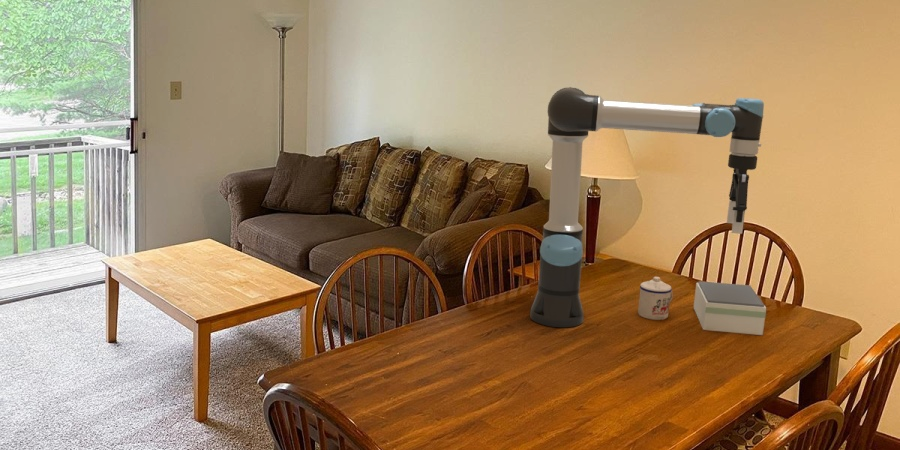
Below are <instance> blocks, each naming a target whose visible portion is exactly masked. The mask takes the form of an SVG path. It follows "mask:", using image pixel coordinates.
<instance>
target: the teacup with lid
mask: <svg viewBox="0 0 900 450" xmlns="http://www.w3.org/2000/svg"><path fill="white" fill-rule="evenodd" d="M639 288H640V290H639V301H638V309H637V311H638V312H637V314H638V315H639V316H640V317H642V318H644V319H647V320H652V321H659V320H660V321H661V320H665V319H667V318H668V317H669V313H670V304H671V302H672V300H673V297H674V293H673V291H672V290H673V289H672V286H671V285H670V284H668V283H665V282H664V281H662V280H661V277H659V276H654V277H652V279H651V280H647V281H643V282H641V283H640V285H639Z"/></svg>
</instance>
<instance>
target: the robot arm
mask: <svg viewBox="0 0 900 450" xmlns="http://www.w3.org/2000/svg"><path fill="white" fill-rule="evenodd" d="M764 104H765V103H764V101H763V100H761V99H757V98H748V97H747V98H745V97H739V98H736V100H735V102H734V104H718V103H705V102H702V103H700V102H699V103H692V104H691V105H690V104H673V103H660V102H647V101H646V102H643V101H642V102H641V101H627V100H611V99H610V100H609V99H603V97H602V96H601V95H595V94H594V95H593V94H587V93H585V92H584V91H583V90H581V89H579V88H577V87H571V86H569V87H563V88H560V89H558V90H557V91H556V92H554V94H553V95H552V96H551V98H550V100H549V102H548V105H547V116H548V120H547V122H548V123H547V125H548V126H547V136H548V137H549V138H550V139H551V140H552V145H551V146H552V147H551V148H552V149H551V150H552V151H551V169H550V170H551V171H550V192H549V211H548V220H547V222H546V223H545V224H543V229H542V230H543V231H542V241H541V245H540V247H539V253H540V255H539V272H538V284H537V285H538V287H537V292H536V294H535V298H534V300H533V303H532V304H531V307H530V311H529V314H530V315H529V317H530V319H531V320H532V321H533V322H535V323H537V324H539V325H543V326H547V327H553V328H573V327H577V326H579V325H581V324H583V322H584V316H585V315H584V310H583V305H582V301H581V298H580V286H581V285H580V284H581V275H582V262H583V260H582V259H583V255H584V250H583V249H584V248H583V232H584V231H583V230H584V227H583V226H582V225H581V223H579V212H580V209H579V207H580V194H581V193H580V191H581V179H582V178H581V175H582V174H581V173H582V158H583V142H584V141H585V140H586V139H587V137H589V132H598V131H600V129H608V130H609V129H612V130H627V131H642V132H643V131H644V132H656V133H657V132H659V133H673V134H674V133H675V134H687V135H701V136H703V135H704V136H712V137H714V138H723V137H727V136H729V135H730V134H731V138H730V144H729V152H730V154H729V155H728V161H727V162H728V163H727V166H728V167H729V168H730V169H733V173H732V177H731V178H732V179H731V185H730V190H729V194H728V198H729V202H728V209H727V218H726V224H732V225H731V234H737V235H738V234H741V235H742V234H743V230H744V222H745V214H746V213H745V212H746V211H747V209H748V206H747V205H748V191H749V190H748V189H749V180H750V175H749V174H748V171H753V170H756V169H757V165H758V164H757V163H758V157H757V155H758V153H759V148H761V147H762V143H760V138H761V130H762V126H763V118H764V106H765V105H764Z"/></svg>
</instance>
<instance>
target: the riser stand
mask: <svg viewBox="0 0 900 450" xmlns="http://www.w3.org/2000/svg"><path fill="white" fill-rule="evenodd" d="M694 292H695V293H694V301H693V311H694V312H695V315H696V316H697V318H698V321H699V323H700V326H701V328H702V330H703V331H712V332H721V333H722V332H724V333H734V334H744V335H756V336H764V328H765V320H766V315H767V307H766V304H764V303H763V301H762V300H761V298H760V297H759V295H758V294H757V293H756V291H755V289H753V287H752V286H751V285H749V284H736V283H726V282H712V281H701V280H700V281H698V282H696V283H695V291H694Z"/></svg>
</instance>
